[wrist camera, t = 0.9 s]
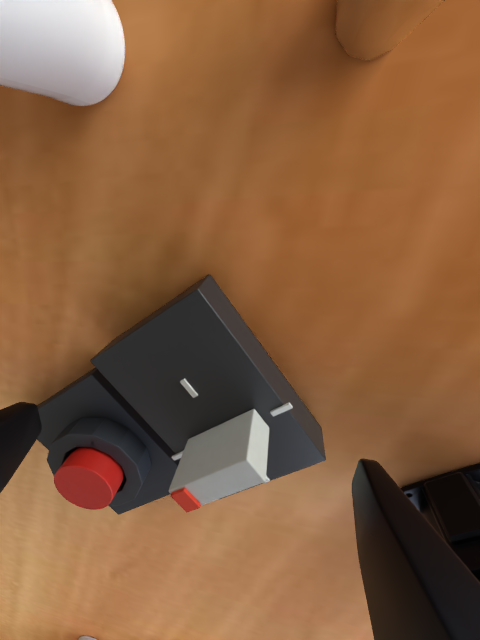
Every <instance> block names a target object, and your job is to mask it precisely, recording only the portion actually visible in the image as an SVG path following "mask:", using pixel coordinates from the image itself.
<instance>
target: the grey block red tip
mask: <svg viewBox="0 0 480 640" xmlns="http://www.w3.org/2000/svg"><path fill="white" fill-rule="evenodd" d="M268 442H269V427H268V425H267V424H266V423H265V422H264V420H263V419H262V418H261V416H260V415H259V414H258V413H257V411H256V410H255V409H252V410H250V411H248V412H246V413H243V414H241V415H239V416H237V417H235V418H233V419H231V420H228V421H226V422H224V423H222V424H220V425H218V426H216V427H213V428H211V429H209V430H207V431H205V432H203V433H201V434H199V435H196V436H194V437H192V438H190V439H188V441H187V444H186V446H185V449H184V452H183V454H182V457H181V459H180V462H179V465H178V467H177V470H176V472H175V475H174V477H173V480H172V483H171V485H170V488H169V493H170V494H171V497H172V498H173V499H174V500H175V501H176V502H177V503H178V504H179V505H180V506H181V507H182V508H183V509H184V510H185V511H186V512H190V511H192V510H195V509H198V508H200V506H201V505H204V504H206V503H209V502H212V501H215V500H217V499H220V498H223V497H225V496H228V495H231V494H234V493H236V492H239V491H242V490H245V489H247V488H250V487H253V486H255V485H258V484H261V483H264V482H265V481H266V470H267V456H268Z"/></svg>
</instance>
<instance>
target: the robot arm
mask: <svg viewBox="0 0 480 640" xmlns="http://www.w3.org/2000/svg"><path fill="white" fill-rule="evenodd" d="M41 429H42V424H41V420H40V416H39V411H38V408H37V406H36V405H35V404H32V403H26V402H19V403H16V404H14V405H11V406H9V407H6V408H4V409H1V410H0V493H1V491H2V490H3V489H4V487H5V486H6V485H7V483H8V482H9V480H10V479H11V477H12V476H13V474H14V473H15V471H16V470H17V468H18V467H19V465H20V464H21V462H22V461H23V459H24V458H25V456H26V455H27V453H28V452H29V450H30V449H31V447H32V445H33V444H34V442H35V441H36V439H37V438H38V436H39V435H40V432H41ZM352 497H353V507H354V518H355V529H356V539H357V549H358V557H359V563H360V569H361V574H362V579H363V584H364V589H365V594H366V599H367V604H368V610H369V615H370V620H371V625H372V630H373V635H374V640H480V463H479V464H475V465H472V466H469V467H466V468H462V469H459V470H456V471H453V472H449V473H446V474H443V475H440V476H436V477H433V478H430V479H426V480H423V481H420V482H417V483H413V484H410V485H407V486H404V487H402V488H401V489H400V487H399V486H398V485H397V484H396V483H395V482H394V480H393V479H392V478H391V477H390V476H389V474H388V473H387V472H386V471H385V470H384V469H383V467H382V466H381V465H380V464H379V463H378V462H377V461H373V460H368V459H360V460H359V462H358V465H357V468H356V471H355V474H354V477H353V481H352Z"/></svg>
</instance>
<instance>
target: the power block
mask: <svg viewBox="0 0 480 640" xmlns="http://www.w3.org/2000/svg"><path fill="white" fill-rule="evenodd" d="M37 408H38V411H39V416H40V420H41V424H42V429H41V432H40V435H39V436H38V438H37V440H38V441H39V442H41V443H42V444H43V445H44V446H45V447H46V448H47V449H48V450H49V453H48V457H47V462H48V464H49V466H50V468H51V471H52V473H53V475H54V476H55V473H56V472H57V470H58V469H59V468H60V466H61V465H62V464H63V463H64V461H65V460H66V459H67V458H68V456H69V455H70V454H71V453H72V452H73V451H74V450H76V449H78V448H81V447H93V448H95V449H98V450H100V451H102V452H104V453H107V454H109V455H111V456H112V457H113V458H114V459H115V460H116V461H117V462H118V463H119V464H120V465H121V467H122V469H123V472H124V478H123V481H122V483H121V485H120V487H119V489H118V490H117V492H116V494H115V496H114V498H113V499H112V501H111V503H110V504H109V506H110V507H111V508H112V509H113V510H114V511H115V512H116V513H117V514H121V513H124V512H126V511H129V510H131V509H134V508H136V507H139V506H141V505H144V504H146V503H149V502H151V501H154V500H156V499H159V498H161V497H164V496H166V495H169V494H170V493H169V488H170V485H171V483H172V480H173V477H174V475H175V472H176V470H177V467H178V465H179V462H180V459H181V458H179V459H177V460H175V461H174V460H173V459H172V458H171V457H172V456H173V455H175V454H176V453H175V452H174V451H173V450H172V449H171V448H170V447H169V446H168V444H167V443H166V442H165V441H164V440H163V439H162V438H161V437H160V436H159V435H158V434H157V433H156V432H155V430H154V429H153V428H152V427H151V426H150V425H149V424H148V423H147V422H146V421H145V420H144V419H143V418H142V416H141V415H140V414H139V413H138V412H137V411H136V410H135V409H134V408H133V407H132V406H131V405H130V404H129V402H128V401H127V400H126V399H125V398H124V397H123V396H122V395H121V394H120V393H119V392H118V391H117V390H116V388H115V387H114V386H113V385H112V384H111V383H110V382H109V381H108V380H107V379H106V378H105V377H104V376H103V374H102V373H101V372H100V371H99V370H98V369H97V368H94V369H93V370H91V371H90V372H88V373H87V374H85V375H84V376H82V377H81V378H79V379H78V380H76V381H75V382H73V383H71V384H70V385H68V386H67V387H65V388H64V389H62V390H61V391H59V392H58V393H56V394H55V395H53V396H52V397H50V398H49V399H47V400H46V401H44V402H42V403H41V404H39V405H38V406H37Z"/></svg>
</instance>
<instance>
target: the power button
mask: <svg viewBox="0 0 480 640" xmlns="http://www.w3.org/2000/svg"><path fill="white" fill-rule="evenodd" d="M123 478H124V472H123V469H122V467H121V465H120V464H119V463H118V462H117V461H116V460H115V459H114V458H113V457H112V456H111V455H109V454H107V453H104V452H102V451H100V450H98V449H95V448H93V447H81V448H78V449H76V450H74V451H73V452H72V453H71V454H70V455H69V456H68V458H67V459H66V460H65V461H64V463H63V464H62V465H61V466H60V468H59V469H58V470H57V472H56V473H55V476H54V483H55V486H56V488H57V490H58V491H59V493H60V494H61V495H62V496H63V497H64V498H65V499H66V500H68V501H69V502H71V503H73V504H75V505H77V506H79V507H82V508H86V509H102V508H104V507H106V506H108V505H109V504H110V503H111V501H112V499H113V498H114V496H115V494H116V492H117V490H118V489H119V487H120V485H121V483H122V481H123Z"/></svg>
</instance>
